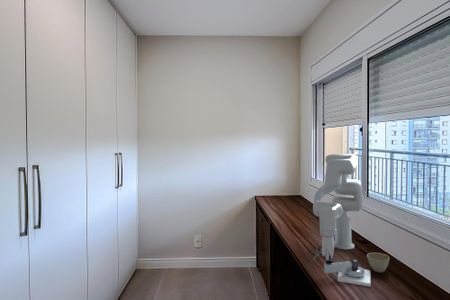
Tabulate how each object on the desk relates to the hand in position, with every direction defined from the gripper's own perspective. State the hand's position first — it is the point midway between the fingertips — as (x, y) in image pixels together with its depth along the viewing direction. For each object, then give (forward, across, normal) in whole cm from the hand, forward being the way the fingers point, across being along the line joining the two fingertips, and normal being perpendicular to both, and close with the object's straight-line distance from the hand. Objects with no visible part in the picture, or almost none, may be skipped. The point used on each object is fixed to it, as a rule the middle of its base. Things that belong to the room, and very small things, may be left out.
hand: (329, 268), depth 140 cm
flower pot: (+5, -15, +22) cm, 27 cm away
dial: (+2, 0, +7) cm, 7 cm away
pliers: (+5, -23, -9) cm, 26 cm away
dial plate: (+4, -3, +11) cm, 12 cm away
